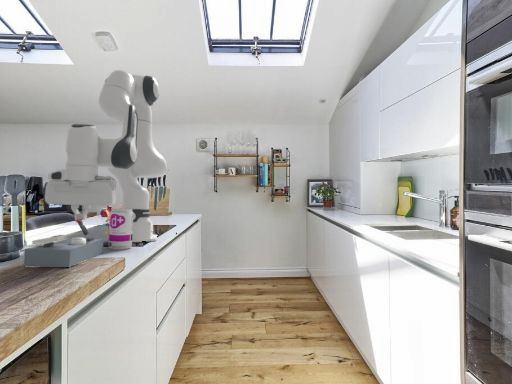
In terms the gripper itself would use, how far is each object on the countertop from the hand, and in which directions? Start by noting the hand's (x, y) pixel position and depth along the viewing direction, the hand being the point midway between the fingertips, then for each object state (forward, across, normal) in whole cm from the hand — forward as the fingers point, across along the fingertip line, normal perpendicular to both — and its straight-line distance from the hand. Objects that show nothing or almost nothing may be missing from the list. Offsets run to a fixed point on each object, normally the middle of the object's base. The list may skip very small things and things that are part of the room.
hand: (80, 219), depth 98 cm
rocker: (+5, +6, +7) cm, 10 cm away
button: (+9, 0, +1) cm, 9 cm away
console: (+12, +3, +1) cm, 13 cm away
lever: (+6, 0, -5) cm, 8 cm away
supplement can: (+13, -5, -21) cm, 25 cm away
